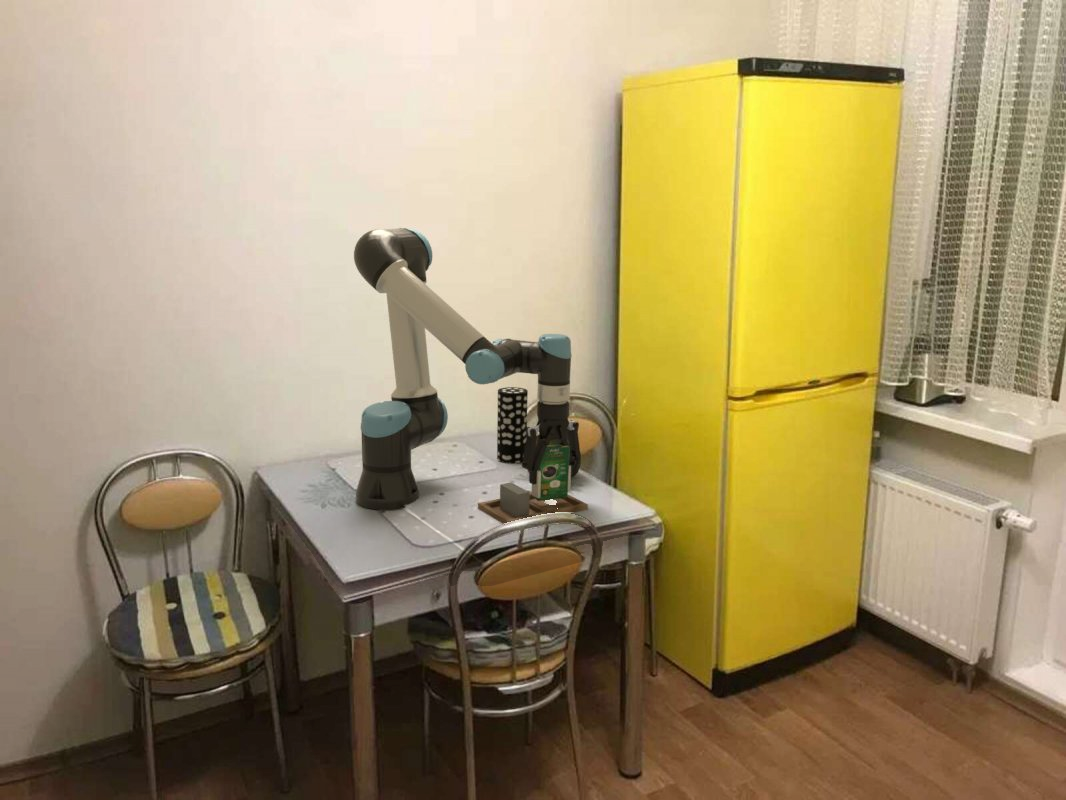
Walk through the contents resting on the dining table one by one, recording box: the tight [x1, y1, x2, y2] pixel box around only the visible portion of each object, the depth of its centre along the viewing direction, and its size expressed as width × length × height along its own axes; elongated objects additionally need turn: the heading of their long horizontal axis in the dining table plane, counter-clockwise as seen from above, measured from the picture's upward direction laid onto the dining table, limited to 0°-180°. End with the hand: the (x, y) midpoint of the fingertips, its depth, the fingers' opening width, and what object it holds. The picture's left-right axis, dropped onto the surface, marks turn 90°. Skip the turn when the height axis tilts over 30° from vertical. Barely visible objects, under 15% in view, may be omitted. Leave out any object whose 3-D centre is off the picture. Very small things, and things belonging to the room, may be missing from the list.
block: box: [499, 482, 531, 518], centre depth 200 cm, size 3×8×6 cm, turn 34°
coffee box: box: [534, 444, 570, 501], centre depth 204 cm, size 8×3×13 cm, turn 114°
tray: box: [477, 491, 589, 524], centre depth 203 cm, size 22×14×2 cm, turn 124°
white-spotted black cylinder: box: [496, 386, 529, 464], centre depth 242 cm, size 8×8×20 cm
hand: (550, 493), depth 206 cm, fingers closed on coffee box, 8 cm apart
